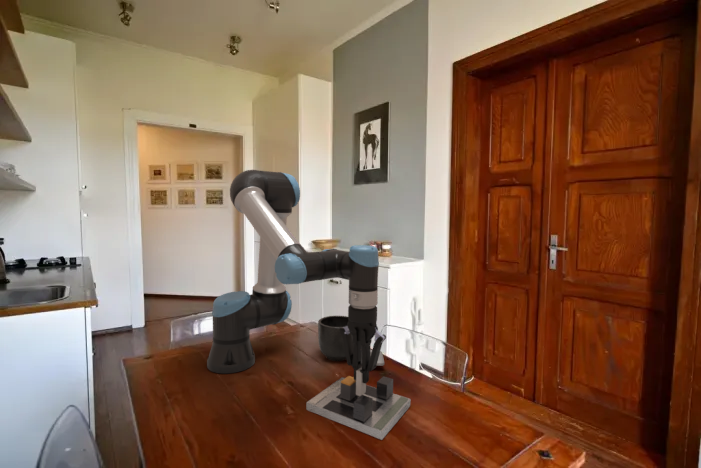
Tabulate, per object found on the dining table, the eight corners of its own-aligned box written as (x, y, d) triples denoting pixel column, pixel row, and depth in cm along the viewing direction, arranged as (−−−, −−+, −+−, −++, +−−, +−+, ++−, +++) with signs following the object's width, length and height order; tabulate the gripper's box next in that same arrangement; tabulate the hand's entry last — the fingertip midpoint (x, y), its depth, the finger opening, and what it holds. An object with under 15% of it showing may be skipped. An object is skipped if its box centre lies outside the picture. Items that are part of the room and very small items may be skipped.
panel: (306, 409, 93) (306, 386, 93) (341, 383, 107) (342, 363, 107) (381, 440, 82) (382, 413, 81) (410, 406, 96) (411, 383, 95)
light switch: (384, 371, 117) (385, 356, 116) (354, 370, 117) (354, 355, 116) (381, 358, 126) (382, 344, 126) (354, 358, 126) (354, 344, 126)
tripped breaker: (340, 397, 95) (340, 381, 95) (348, 391, 98) (348, 375, 98) (349, 400, 94) (350, 384, 93) (357, 394, 97) (358, 378, 97)
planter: (333, 346, 137) (334, 313, 136) (364, 355, 129) (365, 320, 128) (309, 358, 125) (309, 322, 124) (340, 369, 117) (341, 330, 116)
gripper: (333, 304, 93) (332, 392, 94) (378, 312, 86) (376, 407, 87) (349, 298, 99) (347, 381, 101) (391, 306, 92) (389, 394, 94)
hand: (360, 393), depth 94 cm, fingers closed
